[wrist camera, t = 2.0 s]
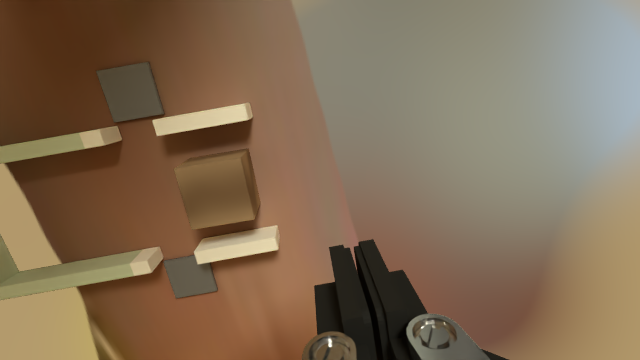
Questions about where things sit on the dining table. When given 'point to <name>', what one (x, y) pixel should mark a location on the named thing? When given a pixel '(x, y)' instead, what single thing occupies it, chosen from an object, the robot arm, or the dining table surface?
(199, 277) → the pads
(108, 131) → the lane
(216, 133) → the dining table surface
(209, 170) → the walnut block
